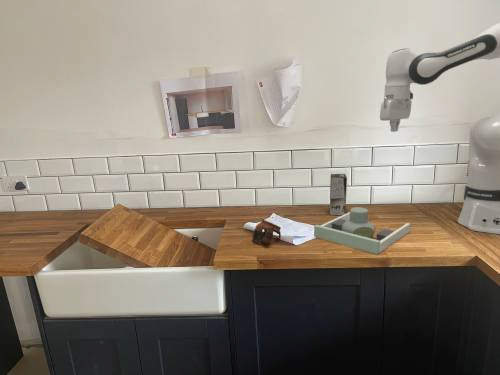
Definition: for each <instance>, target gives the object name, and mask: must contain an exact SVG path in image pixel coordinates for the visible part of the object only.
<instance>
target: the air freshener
mask: <svg viewBox="0 0 500 375" xmlns="http://www.w3.org/2000/svg"><path fill="white" fill-rule="evenodd" d="M349 212H350V220H347V221H346V222H345V223H344V224H343V225H342V231H344V232H347V233H351V234H355V235H359V236H363V237H367V238H372V237H373V236H374V234H375V232H376V228H375V226H374V224H373V223H372V222H371V221H369V210H368V209H367V208H365V207H359V206H357V207H352V208H350V209H349Z"/></svg>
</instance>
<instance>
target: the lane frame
mask: <svg viewBox="0 0 500 375" xmlns="http://www.w3.org/2000/svg"><path fill="white" fill-rule="evenodd" d="M340 219H342V220H346V221H347V220H350V211H348V212H347V213H345V214H344V215H339V216H337V217H336V218H334V219H331V220H329V221H327V222H325V223H323V224H321V225H319V224H315V225H314V226H313V231H314V232H313V237H315V238H318V239H321V240H325V241H329V242H331V243H332V242H333V243H335V244H340V245H342V246H346V247H350V248H354V249H357V250H360V251H364V252H368V253H371V254H373V255H379V254H380V253H382V251H384V250H386V249H387V248H389V247H390V246H391V245H392V244H394V243H396V242H397V241H398V240H400V239H401V238H403V237H404V236H405V235H406V234H409V232H410V231H411V230H410V229H411V223H409V222H407V223H405V224H403V225H402V226H401V227H399V228H397V229H396V230H394V232H393V233H391V234H390V235H388V236H387V237H385V238H384V239H382V240H381V241H379V240H376V239H375V238H372V237H370V238H367V237H363V236H359V235H355V234H351V233H347V232H344V231H340V230H336V229H332V223H334V222H336V221H338V220H340Z"/></svg>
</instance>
